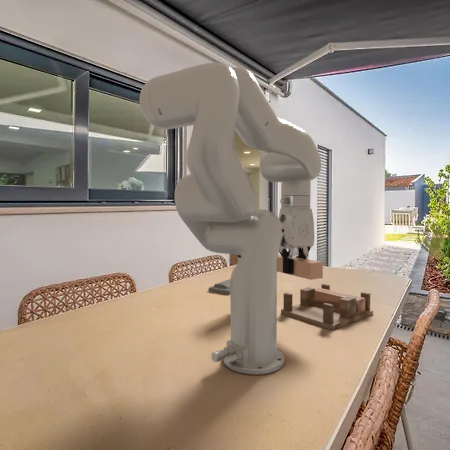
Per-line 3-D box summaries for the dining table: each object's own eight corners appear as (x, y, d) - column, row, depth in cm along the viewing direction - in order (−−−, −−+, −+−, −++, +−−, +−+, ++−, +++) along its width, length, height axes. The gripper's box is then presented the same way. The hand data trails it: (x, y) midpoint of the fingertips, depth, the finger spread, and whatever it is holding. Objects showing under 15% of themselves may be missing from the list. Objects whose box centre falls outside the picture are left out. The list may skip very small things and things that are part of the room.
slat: (322, 278, 85) (322, 262, 85) (310, 279, 83) (310, 263, 83) (280, 268, 99) (281, 254, 99) (269, 269, 97) (269, 255, 97)
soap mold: (256, 286, 141) (256, 277, 141) (229, 296, 124) (229, 287, 124) (235, 282, 147) (235, 274, 146) (207, 292, 130) (206, 283, 130)
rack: (332, 330, 89) (333, 306, 89) (281, 313, 103) (281, 292, 103) (373, 314, 101) (373, 293, 101) (321, 301, 116) (321, 283, 115)
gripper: (284, 202, 82) (283, 278, 83) (327, 203, 92) (326, 271, 93) (262, 203, 88) (261, 274, 89) (304, 203, 98) (303, 267, 99)
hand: (294, 271), depth 91 cm, fingers closed on slat, 4 cm apart
